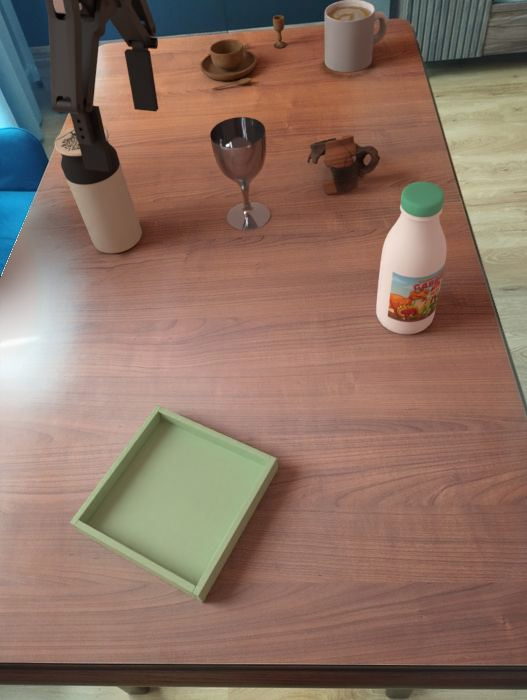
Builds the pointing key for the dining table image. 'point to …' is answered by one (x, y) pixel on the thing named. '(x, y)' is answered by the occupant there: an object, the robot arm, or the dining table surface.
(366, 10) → the coffee mug
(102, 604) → the dining table surface
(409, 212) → the milk bottle
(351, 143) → the pottery mug
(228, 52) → the place setting
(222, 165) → the wine glass
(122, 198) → the travel mug
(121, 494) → the tray
